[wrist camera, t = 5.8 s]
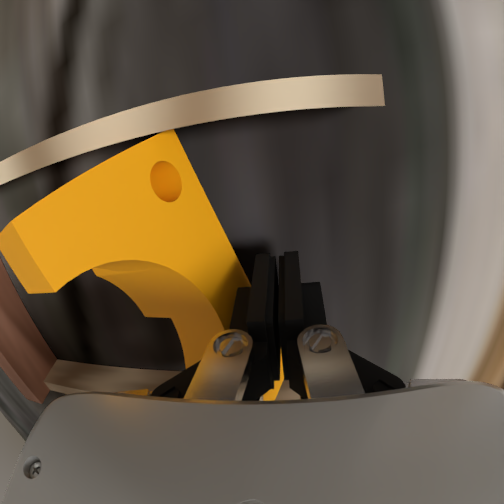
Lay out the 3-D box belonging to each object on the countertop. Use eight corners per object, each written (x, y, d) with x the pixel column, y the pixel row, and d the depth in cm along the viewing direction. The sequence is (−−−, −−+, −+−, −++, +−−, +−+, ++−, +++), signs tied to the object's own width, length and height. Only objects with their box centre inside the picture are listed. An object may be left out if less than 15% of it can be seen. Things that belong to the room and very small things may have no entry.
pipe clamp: (106, 166, 12) (-13, 248, 8) (172, 127, 10) (11, 221, 5) (223, 357, 17) (167, 449, 13) (290, 362, 15) (239, 476, 10)
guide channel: (361, 77, 10) (399, 72, 6) (357, 373, 17) (366, 428, 14) (-40, 186, 13) (-80, 211, 10) (47, 364, 21) (26, 398, 17)
